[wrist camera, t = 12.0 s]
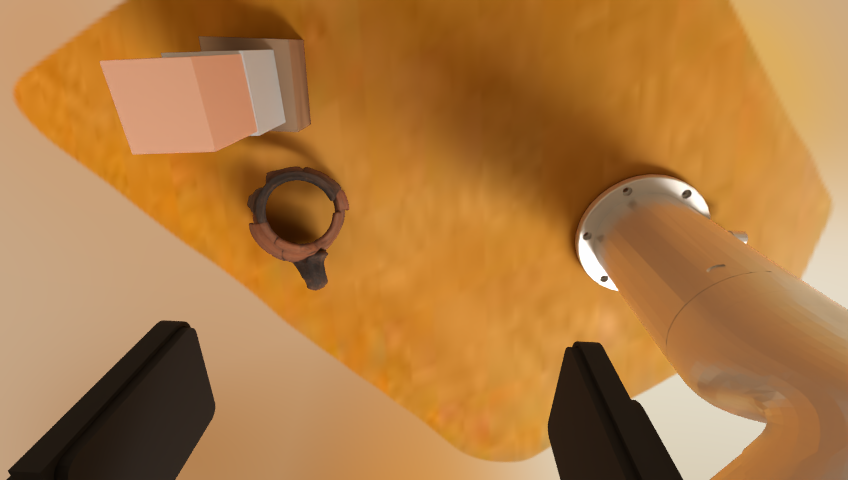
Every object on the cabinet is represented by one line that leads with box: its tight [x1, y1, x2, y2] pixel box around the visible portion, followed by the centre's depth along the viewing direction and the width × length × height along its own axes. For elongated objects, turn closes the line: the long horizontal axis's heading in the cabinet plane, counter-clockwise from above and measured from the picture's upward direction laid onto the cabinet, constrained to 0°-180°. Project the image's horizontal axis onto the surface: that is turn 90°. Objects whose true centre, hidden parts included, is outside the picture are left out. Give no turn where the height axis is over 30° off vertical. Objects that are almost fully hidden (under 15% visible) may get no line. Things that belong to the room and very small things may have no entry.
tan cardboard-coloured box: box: [199, 36, 311, 132], centre depth 35 cm, size 7×7×4 cm
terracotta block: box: [100, 54, 258, 154], centre depth 25 cm, size 5×5×6 cm
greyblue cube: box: [161, 50, 285, 136], centre depth 30 cm, size 6×6×6 cm
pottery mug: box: [247, 167, 349, 290], centre depth 40 cm, size 12×10×8 cm
